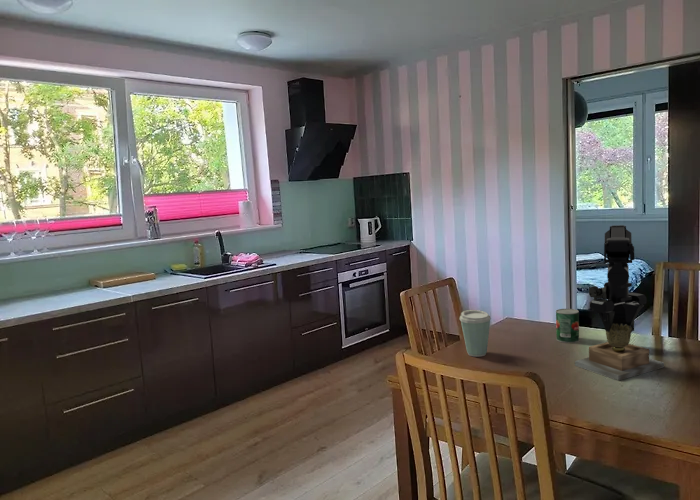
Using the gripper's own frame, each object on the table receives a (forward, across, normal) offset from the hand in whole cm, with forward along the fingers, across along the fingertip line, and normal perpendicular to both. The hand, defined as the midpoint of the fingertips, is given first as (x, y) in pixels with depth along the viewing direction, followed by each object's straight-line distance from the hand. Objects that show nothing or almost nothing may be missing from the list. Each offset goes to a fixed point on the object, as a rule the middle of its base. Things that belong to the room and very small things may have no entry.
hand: (618, 329), depth 166 cm
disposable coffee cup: (+12, +28, -35) cm, 46 cm away
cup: (+7, 0, 0) cm, 7 cm away
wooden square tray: (+12, 0, 0) cm, 12 cm away
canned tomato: (+12, -9, -29) cm, 33 cm away
